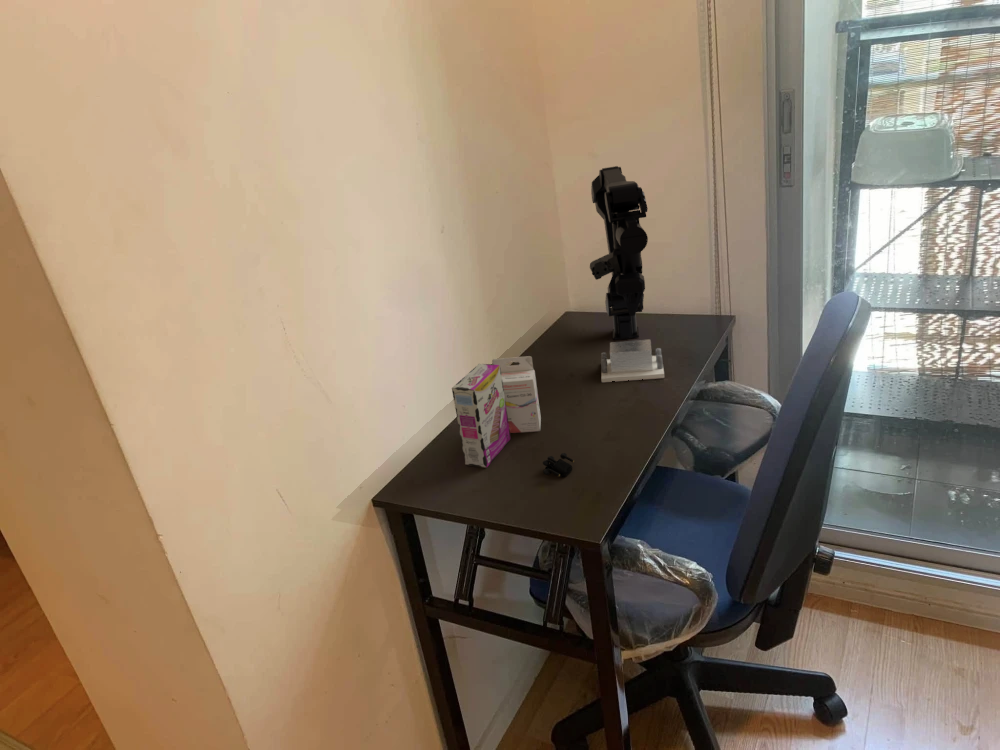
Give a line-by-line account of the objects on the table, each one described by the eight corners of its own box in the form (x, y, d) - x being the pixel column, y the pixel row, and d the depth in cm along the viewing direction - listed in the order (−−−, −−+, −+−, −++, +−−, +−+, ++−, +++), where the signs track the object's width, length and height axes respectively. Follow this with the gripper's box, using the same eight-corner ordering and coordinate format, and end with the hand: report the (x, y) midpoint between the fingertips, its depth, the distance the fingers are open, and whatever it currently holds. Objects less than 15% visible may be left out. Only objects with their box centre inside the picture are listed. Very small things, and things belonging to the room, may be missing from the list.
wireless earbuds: (559, 479, 120) (535, 465, 122) (557, 490, 121) (533, 476, 123) (580, 459, 125) (556, 446, 127) (577, 469, 126) (554, 456, 128)
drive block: (611, 362, 160) (610, 342, 158) (651, 359, 159) (650, 339, 157) (611, 373, 155) (609, 353, 153) (652, 370, 153) (651, 350, 151)
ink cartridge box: (498, 435, 140) (487, 369, 134) (500, 423, 144) (489, 358, 138) (540, 431, 138) (531, 364, 132) (542, 419, 143) (532, 354, 137)
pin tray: (602, 363, 163) (600, 348, 161) (661, 359, 160) (660, 343, 159) (601, 382, 154) (600, 366, 152) (664, 377, 151) (663, 361, 150)
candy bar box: (488, 469, 128) (474, 390, 122) (464, 466, 131) (449, 388, 124) (513, 438, 137) (501, 363, 131) (490, 436, 140) (477, 362, 133)
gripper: (591, 235, 163) (597, 298, 169) (588, 258, 146) (595, 326, 152) (639, 229, 160) (643, 293, 167) (642, 252, 144) (647, 322, 150)
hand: (631, 308), depth 159 cm, fingers open, 9 cm apart
